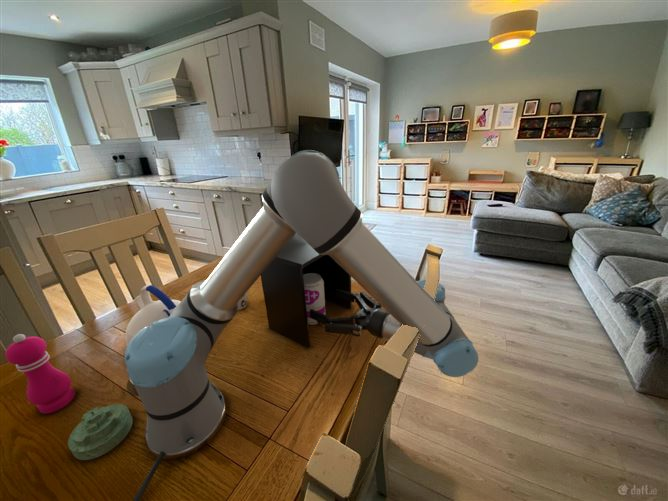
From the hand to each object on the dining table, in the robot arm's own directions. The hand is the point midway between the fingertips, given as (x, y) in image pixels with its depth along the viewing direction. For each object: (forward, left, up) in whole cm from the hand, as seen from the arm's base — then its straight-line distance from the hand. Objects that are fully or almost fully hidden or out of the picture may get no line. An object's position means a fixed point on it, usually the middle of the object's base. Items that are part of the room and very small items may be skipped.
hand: (324, 302), depth 86 cm
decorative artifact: (-44, +37, -8) cm, 58 cm away
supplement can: (+2, +5, -8) cm, 10 cm away
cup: (+4, +34, -8) cm, 35 cm away
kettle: (-15, +48, -8) cm, 51 cm away
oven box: (+2, +5, -8) cm, 9 cm away
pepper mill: (-40, +56, -8) cm, 69 cm away
